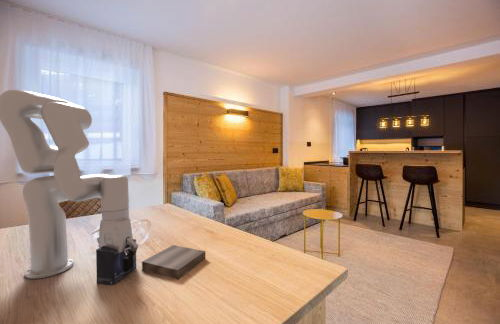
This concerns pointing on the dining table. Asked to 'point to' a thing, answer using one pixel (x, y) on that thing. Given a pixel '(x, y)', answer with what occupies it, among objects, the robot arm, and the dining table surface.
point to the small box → (111, 265)
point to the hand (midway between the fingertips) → (117, 267)
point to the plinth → (173, 261)
